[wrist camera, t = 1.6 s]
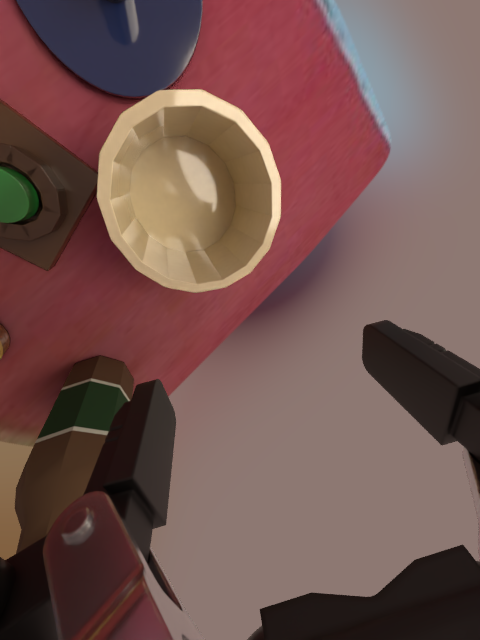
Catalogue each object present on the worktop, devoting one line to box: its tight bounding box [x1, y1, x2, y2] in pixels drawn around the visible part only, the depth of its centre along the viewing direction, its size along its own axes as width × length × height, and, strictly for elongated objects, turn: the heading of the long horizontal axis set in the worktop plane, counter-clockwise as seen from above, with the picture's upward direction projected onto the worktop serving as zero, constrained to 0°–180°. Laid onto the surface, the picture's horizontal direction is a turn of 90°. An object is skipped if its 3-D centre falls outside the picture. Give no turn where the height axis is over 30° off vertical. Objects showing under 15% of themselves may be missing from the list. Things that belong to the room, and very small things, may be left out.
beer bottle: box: [15, 356, 134, 554], centre depth 21 cm, size 8×8×24 cm
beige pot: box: [97, 89, 281, 293], centre depth 20 cm, size 11×11×10 cm
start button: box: [0, 166, 39, 223], centre depth 17 cm, size 4×4×2 cm
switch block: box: [0, 99, 98, 271], centre depth 19 cm, size 8×10×4 cm
